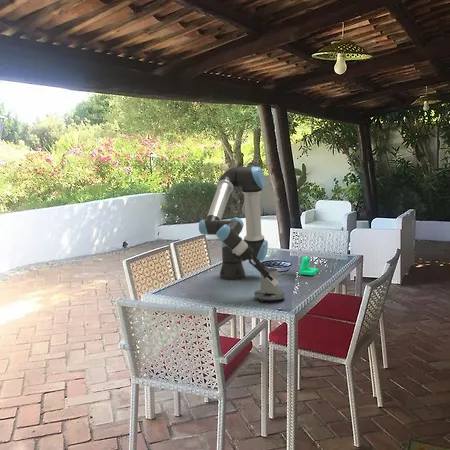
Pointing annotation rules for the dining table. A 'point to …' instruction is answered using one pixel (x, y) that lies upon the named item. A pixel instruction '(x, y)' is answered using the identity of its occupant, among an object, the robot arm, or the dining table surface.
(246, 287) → the dining table surface
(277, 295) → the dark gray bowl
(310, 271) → the camera mount
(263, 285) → the cup
